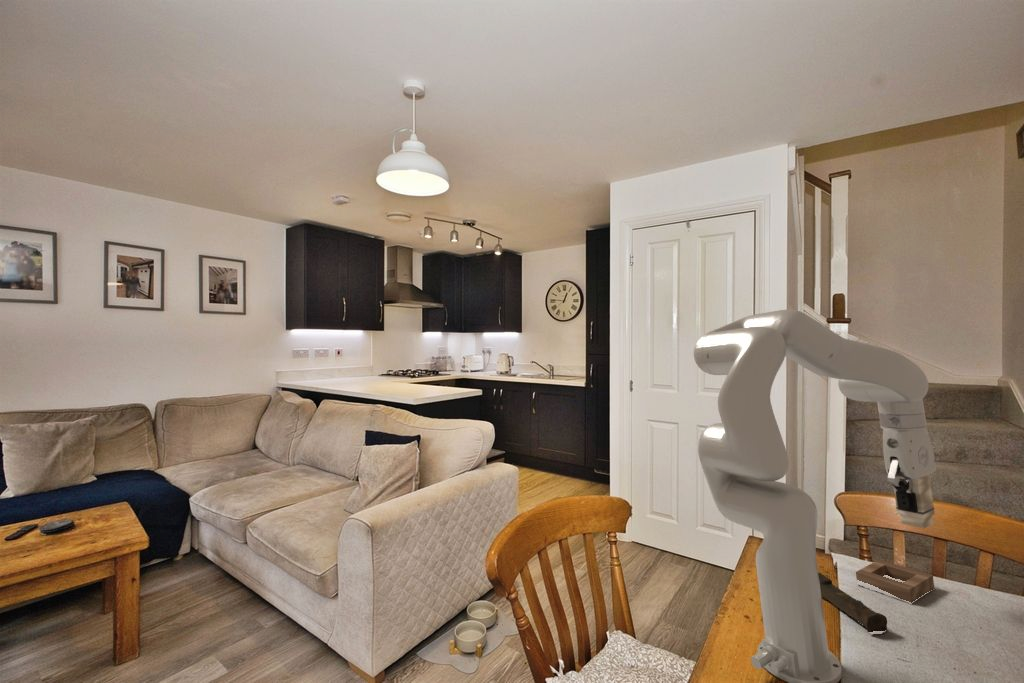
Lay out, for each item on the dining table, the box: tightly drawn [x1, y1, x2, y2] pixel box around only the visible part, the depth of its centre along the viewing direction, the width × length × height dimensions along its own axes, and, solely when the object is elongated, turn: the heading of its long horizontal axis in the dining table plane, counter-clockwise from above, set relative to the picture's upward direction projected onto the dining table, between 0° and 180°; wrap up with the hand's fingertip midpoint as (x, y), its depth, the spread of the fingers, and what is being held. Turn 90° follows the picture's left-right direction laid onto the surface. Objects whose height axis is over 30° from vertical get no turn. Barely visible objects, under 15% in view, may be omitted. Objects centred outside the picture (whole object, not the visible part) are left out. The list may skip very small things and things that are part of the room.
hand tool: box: [818, 571, 888, 632], centre depth 95 cm, size 19×4×5 cm, turn 0°
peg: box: [892, 473, 936, 529], centre depth 95 cm, size 5×5×12 cm
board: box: [855, 559, 936, 603], centre depth 100 cm, size 10×10×3 cm
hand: (914, 507), depth 95 cm, fingers closed on peg, 4 cm apart
